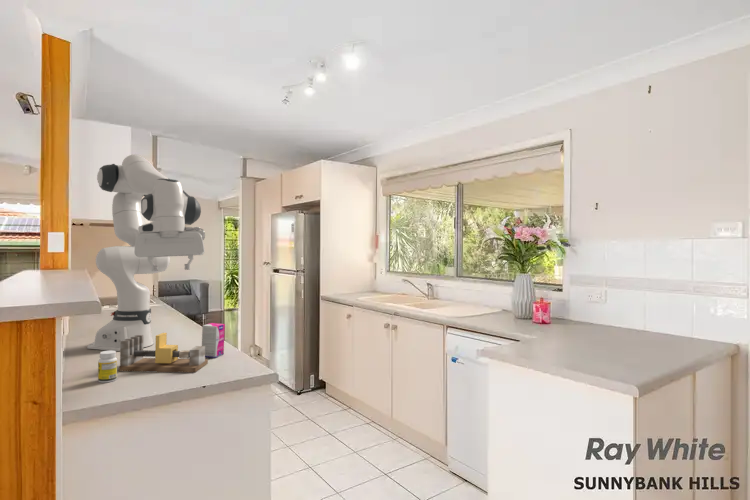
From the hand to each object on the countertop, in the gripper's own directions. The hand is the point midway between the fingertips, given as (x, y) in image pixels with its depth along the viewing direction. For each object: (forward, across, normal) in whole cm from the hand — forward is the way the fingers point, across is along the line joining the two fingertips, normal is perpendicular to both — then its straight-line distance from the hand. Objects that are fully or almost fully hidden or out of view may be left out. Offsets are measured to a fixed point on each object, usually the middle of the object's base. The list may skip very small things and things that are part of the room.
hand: (171, 270), depth 135 cm
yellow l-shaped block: (+29, +3, -7) cm, 30 cm away
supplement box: (+31, -11, -18) cm, 37 cm away
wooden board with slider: (+31, +4, -7) cm, 32 cm away
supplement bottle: (+32, +18, +3) cm, 36 cm away
